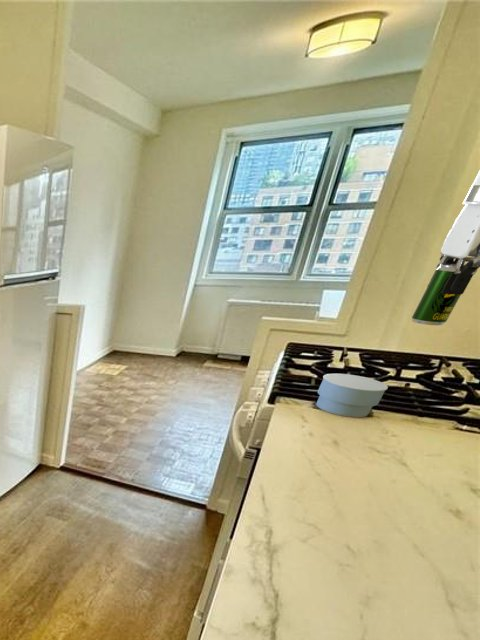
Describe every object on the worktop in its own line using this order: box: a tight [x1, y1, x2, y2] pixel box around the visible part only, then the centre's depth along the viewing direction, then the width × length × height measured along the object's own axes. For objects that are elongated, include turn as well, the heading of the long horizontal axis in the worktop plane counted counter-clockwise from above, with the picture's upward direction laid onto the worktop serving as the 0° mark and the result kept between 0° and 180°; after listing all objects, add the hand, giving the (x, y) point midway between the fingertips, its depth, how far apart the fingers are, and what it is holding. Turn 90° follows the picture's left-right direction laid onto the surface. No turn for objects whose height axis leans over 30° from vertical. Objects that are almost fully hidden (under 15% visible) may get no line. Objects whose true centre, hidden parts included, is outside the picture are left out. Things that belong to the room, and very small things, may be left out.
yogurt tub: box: [315, 373, 389, 418], centre depth 114 cm, size 11×11×7 cm
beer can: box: [411, 264, 462, 326], centre depth 104 cm, size 5×5×12 cm
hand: (444, 290), depth 103 cm, fingers closed on beer can, 5 cm apart
